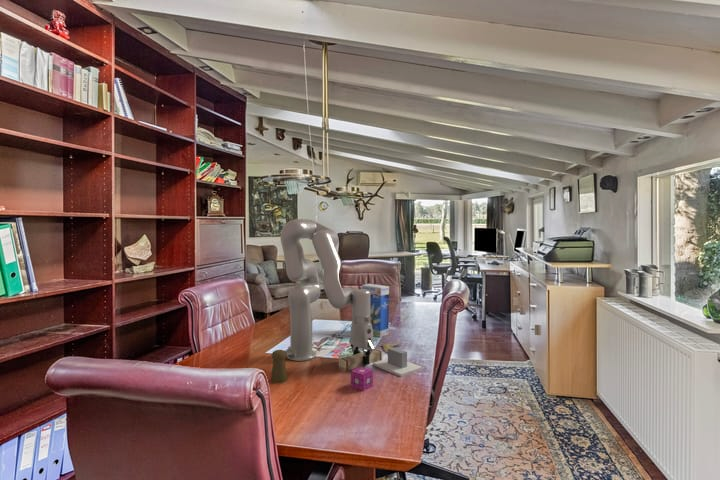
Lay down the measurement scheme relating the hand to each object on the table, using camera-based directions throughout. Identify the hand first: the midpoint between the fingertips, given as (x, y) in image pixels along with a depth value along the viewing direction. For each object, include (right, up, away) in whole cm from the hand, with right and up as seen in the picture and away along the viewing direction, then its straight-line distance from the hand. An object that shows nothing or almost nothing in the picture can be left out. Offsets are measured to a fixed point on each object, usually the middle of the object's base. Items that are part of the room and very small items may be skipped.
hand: (361, 362), depth 160 cm
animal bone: (+15, -1, +15) cm, 21 cm away
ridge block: (+15, -1, -3) cm, 15 cm away
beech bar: (0, -1, 0) cm, 1 cm away
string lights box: (+8, +1, +46) cm, 46 cm away
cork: (-31, -1, -16) cm, 35 cm away
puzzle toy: (0, -2, -22) cm, 22 cm away
